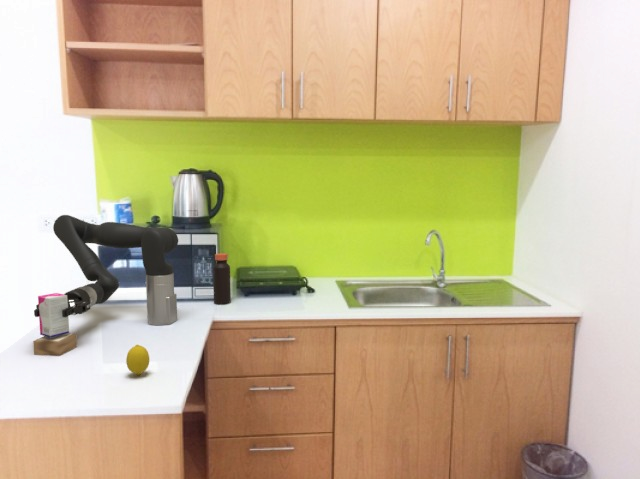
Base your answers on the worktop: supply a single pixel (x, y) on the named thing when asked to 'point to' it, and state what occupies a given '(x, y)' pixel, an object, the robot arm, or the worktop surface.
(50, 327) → the supplement box
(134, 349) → the lemon
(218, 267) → the bottle
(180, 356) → the worktop surface
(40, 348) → the wooden block
